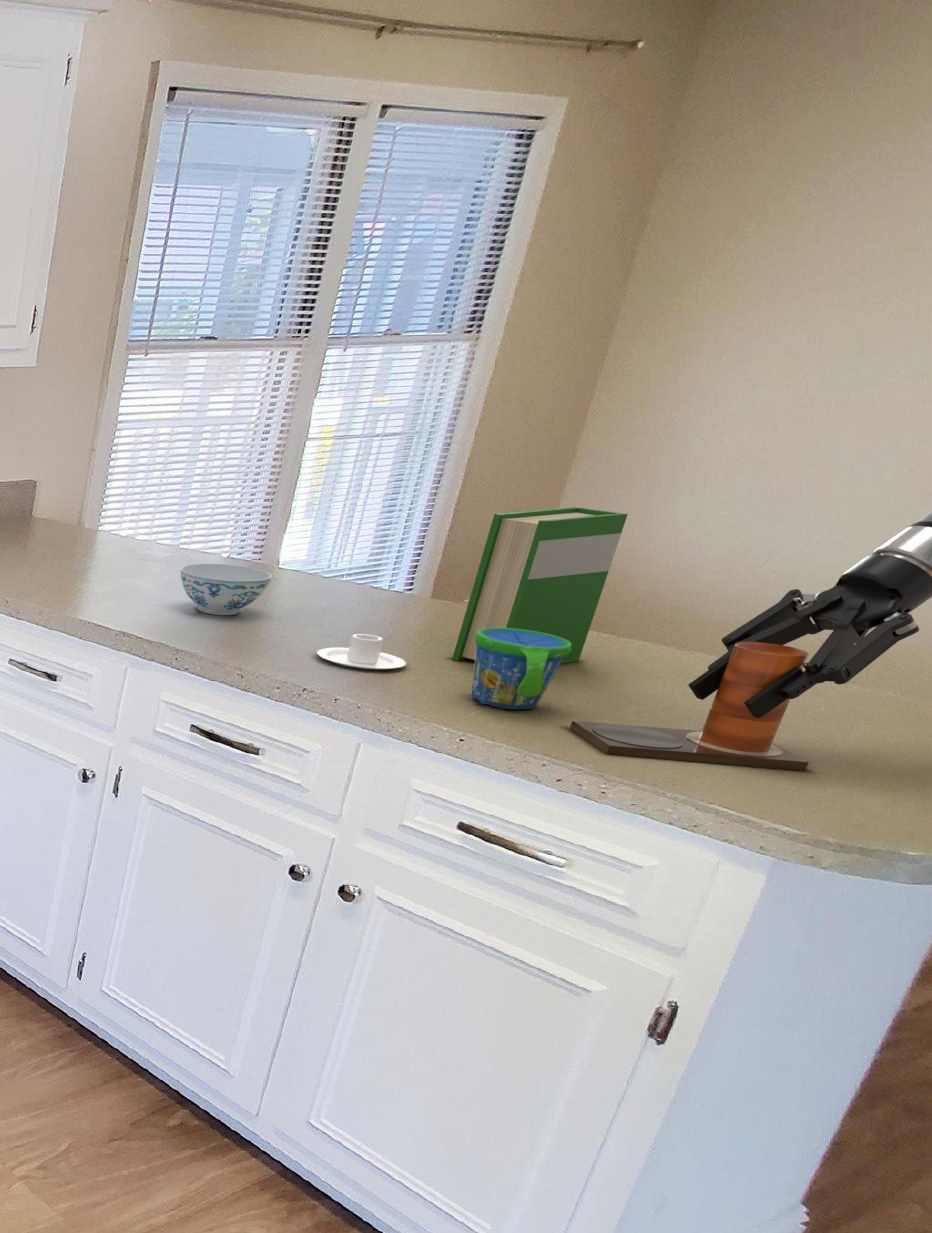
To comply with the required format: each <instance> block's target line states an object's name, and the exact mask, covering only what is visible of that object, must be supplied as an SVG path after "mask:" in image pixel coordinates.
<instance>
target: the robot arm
mask: <svg viewBox="0 0 932 1233" xmlns="http://www.w3.org/2000/svg"><path fill="white" fill-rule="evenodd" d="M931 598H932V509H931V510H930V511H929V512H927V513H926V514H924V515H923V516H922V517H920V518H919V519H918V520H916V521H915V522H914V523H912V524H910V525H909V526H908V527H906V528H905V529H904V530H902V531H901V532H899V533H897V535H895V536H894V537H892V538H891V539H888V541H886V542H884V543H883V544H882V545H881V546H879V547H878V548H876V549H875V550H874V551H873V552H872V554H871V555H866V557H864V558H862V559H861V560H860V561H859V562H857V563H855V564H854V565H852V567H850V568H849V569H847V570H845V572H843V573H842V574H841V575H840V577H839V579H838V580H837V582H836V583H835V584H834V585H833V586H831V587H830V588H828V589H825V590H823V591H820V592H818V593H816V594H810V593H802V592H801V590H800V589H797V588H794V589H791V590H789V591H787V593H786V594H784V596H783V597H782V598H781V599H780V600H779V601H778V602H777V603H775V604H774V605H772V606H771V607H769V608H767V609H765V610H764V611H762V612H761V613H759V614H758V615H756V616H755V617H753V618H751V619H750V620H749V621H747V622H746V623H744V624H742V625H740V626H739V627H737V628H736V629H734V630H733V631H731V632H730V633H728V634H726V635H725V636H723V637H722V638H721V643H722V644H723V645H724V647H725V648H726V650H727V652H726V653H724V654H722V655H721V656H720V657H719V658H717V659H716V660H714V661H713V662H711V663H710V664H709V665H708V667H707V669H708V670H706V671H705V672H704V673H702V674H701V675H699V676H698V677H697V678H695V679H694V680H692V681H691V682H690V683H688V684H687V686H688V687H689V689H690V690H691V692H692V693H693V695H694V696H695V697H696V699H698V700H701V701H703V700H706V698H707V697H709V696H711V695H712V694H714V693H715V692H717V690H718V688H719V685H720V683H721V680H722V677H723V675H724V672H725V670H726V667H727V664H728V662H729V659H730V657H731V654H732V651H733V649H734V646H735V644H736V643H739V642H761V643H770V644H778V645H784V646H786V645H787V644H789V643H791V642H794V641H796V640H798V639H800V638H802V637H805V636H807V635H816V634H819V633H822V632H823V631H831V633H830V634H829V635H828V636H827V638H826V639H825V641H824V642H823V643H822V644H821V645H820V647H819V649H818V650H817V651H816V652H815V654H814V655H813V656H812V657H811V659H810V660H809V661H808V662H805V663H802V665H803V669H804V670H803V669H801V668H797V667H793V668H792V669H791V670H789V671H788V672H786V673H785V674H784V675H782V676H781V677H779V678H778V679H776V680H775V681H774V682H772V683H771V684H769V685H768V686H767V687H765V688H764V689H762V690H761V691H759V692H758V693H757V694H755V695H754V696H752V697H751V698H750V699H748V700H747V701H745V702H744V704H745V705H746V707H747V708H748V710H749V711H750V713H751V714H752V716H753V717H756V718H761V717H762V716H764V715H765V714H767V713H768V712H769V711H771V710H772V709H774V708H775V707H777V706H778V705H779V704H781V703H782V702H784V701H785V700H787V699H788V698H789V699H790V700H794V699H796V698H798V697H800V696H801V695H802V694H804V693H805V692H807V691H808V690H810V689H811V688H812V687H814V686H816V685H817V684H823V683H825V682H833V683H834V684H835V685H844V684H846V683H848V682H849V681H851V680H852V679H854V677H856V676H857V675H858V674H859V673H861V672H862V671H863V670H865V669H866V668H867V667H868V666H869V665H871V664H872V663H873V662H875V661H876V660H878V658H879V657H881V656H882V655H884V653H886V652H887V651H888V650H890V649H891V648H892V647H893V646H894V645H896V644H897V643H899V641H902V640H904V639H906V638H908V637H911V636H913V635H914V634H916V633H918V632H920V627H919V626H918V624H917V622H916V621H915V619H914V617H913V616H912V614H911V612H913V611H915V609H918V608H919V607H920V606H921V605H923V604H924V603H925V602H927V601H928V600H930V599H931ZM870 630H871V631H870Z"/></svg>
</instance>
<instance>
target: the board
mask: <svg viewBox="0 0 932 1233" xmlns="http://www.w3.org/2000/svg"><path fill="white" fill-rule="evenodd" d="M569 730H571V731H573V732H574V733H575V734H576V735H578V736H580V737H581V738H583V739H584V740H585V741H587V742H588V743H590V744H591V745H593V746H594V747H596V748H597V749H599V750H600V751H601V752H603V753H604V754H606V755H613V756H625V757H637V758H649V759H650V758H651V759H661V760H672V761H673V760H674V761H683V762H695V763H709V764H719V765H720V764H721V765H731V766H732V765H733V766H742V767H753V768H764V769H765V768H767V769H778V770H788V771H789V770H790V771H801V772H806V770H807V768H808V765H809V761H807V760H805V759H804V758H802V757H801V756H798V755H796V754H794V753H792V752H790V751H788V750H787V749H784V748H782V747H781V746H779V745H777V744H775V743H773V742H772V745H771V747H770V749H769V750H768V751H766V752H746V751H738V750H732V749H727V748H722V747H719V746H715V745H712V744H709V743H707V742H704V741H703V740H701V739H700V734H701V732H702V730H695V729H684V728H683V729H682V728H672V727H671V728H669V727H657V726H655V727H654V726H646V725H645V726H643V725H642V726H641V725H633V724H632V725H630V724H620V723H619V724H617V723H606V722H593V721H583V720H582V721H581V720H571V723H570V726H569Z"/></svg>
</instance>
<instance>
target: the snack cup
mask: <svg viewBox="0 0 932 1233" xmlns="http://www.w3.org/2000/svg"><path fill="white" fill-rule="evenodd" d="M475 642H476V645H477V648H476V649H477V650H476V655H475V660H474V664H473V672H472V673H473V674H472V676H473V678H472V683H471V697H472V698H473V699H474V700H477V701H478V702H479V703H480V704H482V705H489V706H491V707H494V708H497V709H503V710H517V711H518V710H520V711H523V710H530V709H535V708H536V707H537V706H538V704H539V703H540V701H541V699H542V697H543V695H544V694H545V691H546V690H547V688H548V686H549V684H550V683H551V682H552V680H553V678H554V676H555V674H556V672H557V671H558V668H559V666H560V664H562V663H561V661H562V659H563V658H564V657H565V656H566V655H568V654H569V653H570V652H571V642H569V641H568V640H566V639H564V638H561V637H558V636H555V635H551V634H547V633H542V632H537V631H531V630H523V629H514V628H485V629H481V630H479V631H478V632H476V634H475Z"/></svg>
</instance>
